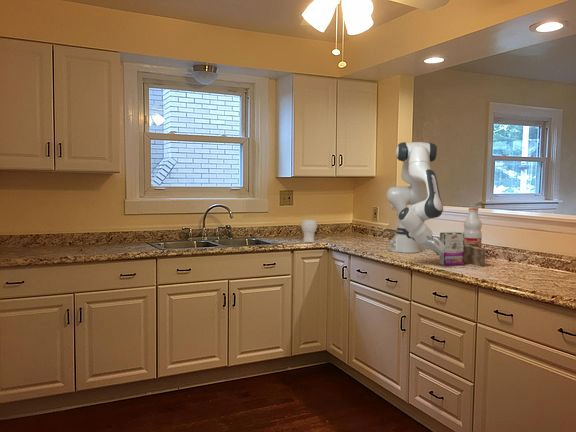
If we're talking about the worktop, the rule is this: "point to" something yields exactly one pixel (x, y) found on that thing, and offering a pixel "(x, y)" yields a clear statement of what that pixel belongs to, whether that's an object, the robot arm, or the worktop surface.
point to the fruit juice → (473, 228)
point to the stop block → (474, 255)
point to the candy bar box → (452, 248)
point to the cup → (308, 230)
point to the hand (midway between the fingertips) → (440, 254)
